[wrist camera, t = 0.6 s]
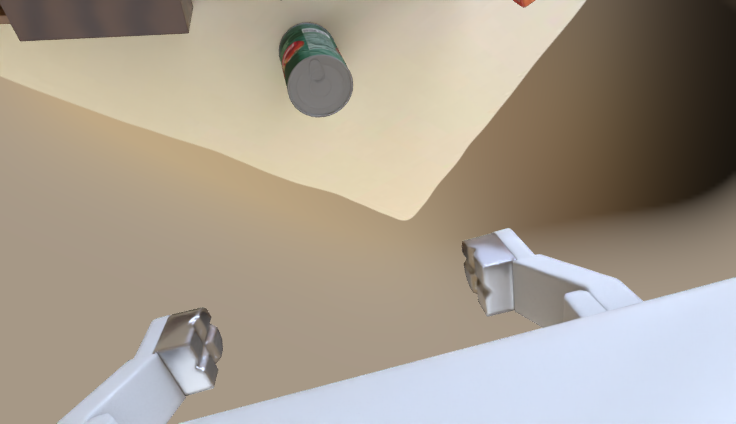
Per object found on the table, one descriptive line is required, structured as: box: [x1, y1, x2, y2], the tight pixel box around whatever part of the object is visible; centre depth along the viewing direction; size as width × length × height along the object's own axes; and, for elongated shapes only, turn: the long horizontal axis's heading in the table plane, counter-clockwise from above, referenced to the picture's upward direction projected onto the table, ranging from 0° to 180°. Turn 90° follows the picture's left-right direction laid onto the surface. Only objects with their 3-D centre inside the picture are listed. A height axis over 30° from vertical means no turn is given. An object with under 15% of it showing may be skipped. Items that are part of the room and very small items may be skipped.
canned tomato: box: [279, 23, 353, 117], centre depth 52 cm, size 8×8×11 cm
